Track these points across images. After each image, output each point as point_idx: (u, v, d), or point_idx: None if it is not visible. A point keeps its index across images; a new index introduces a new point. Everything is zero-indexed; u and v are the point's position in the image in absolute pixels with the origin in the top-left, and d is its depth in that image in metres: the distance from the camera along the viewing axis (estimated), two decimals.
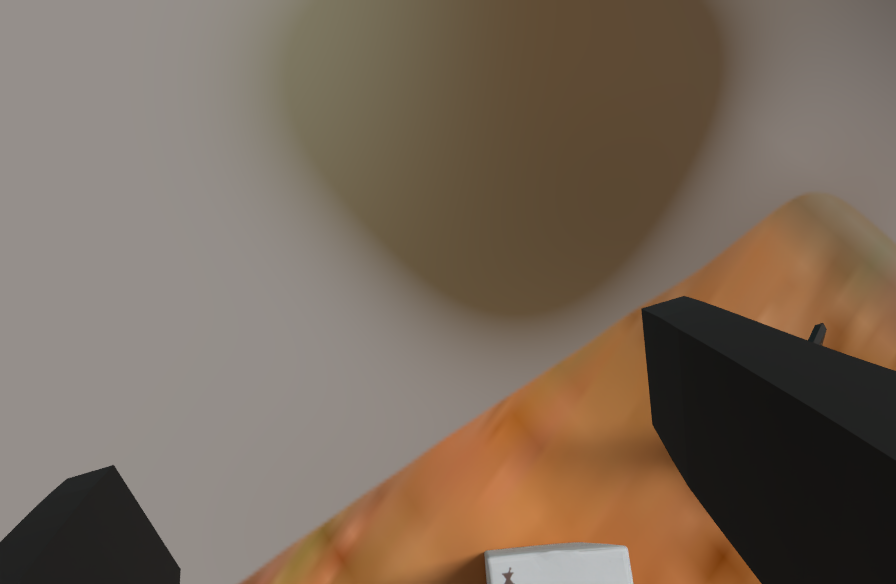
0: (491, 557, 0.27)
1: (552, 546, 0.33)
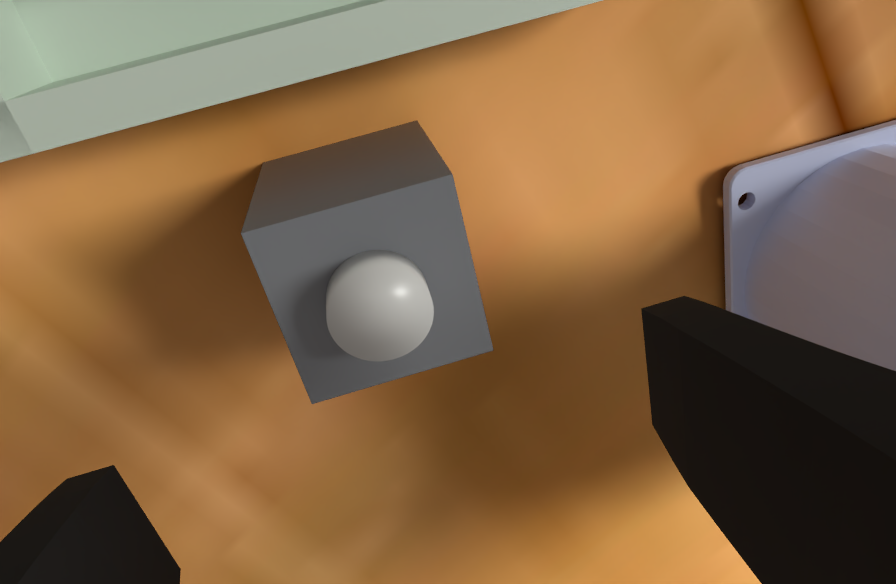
0: None
1: None
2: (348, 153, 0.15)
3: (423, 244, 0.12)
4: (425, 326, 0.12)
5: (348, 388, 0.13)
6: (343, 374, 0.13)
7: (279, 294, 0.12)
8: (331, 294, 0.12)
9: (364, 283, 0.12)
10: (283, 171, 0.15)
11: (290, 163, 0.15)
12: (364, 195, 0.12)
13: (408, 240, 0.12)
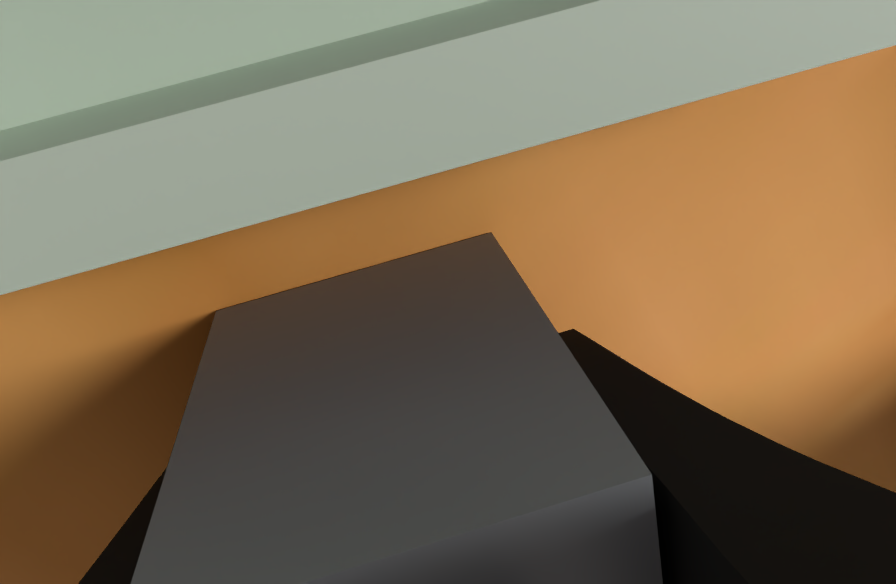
0: None
1: None
2: (373, 316, 0.08)
3: None
4: None
5: None
6: None
7: None
8: None
9: None
10: (248, 351, 0.08)
11: (263, 326, 0.08)
12: (429, 522, 0.05)
13: None
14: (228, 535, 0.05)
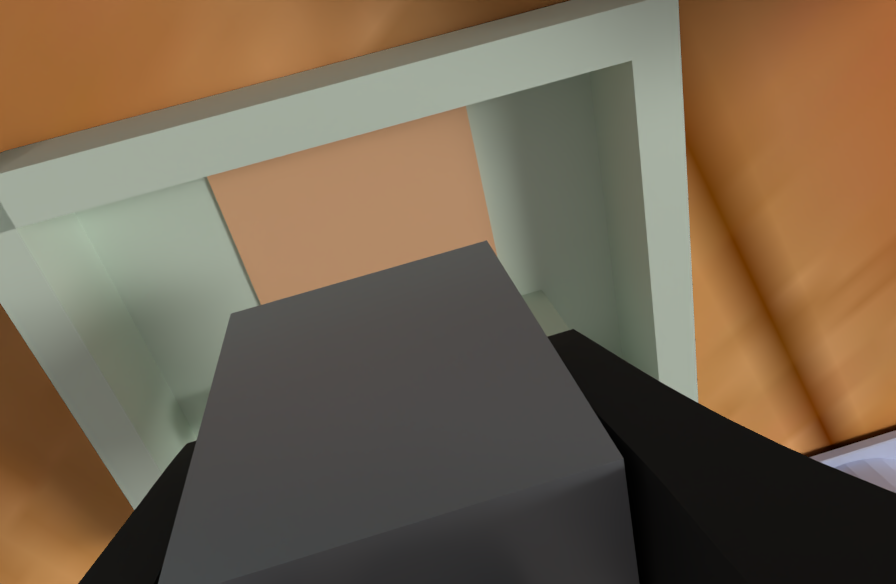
0: None
1: None
2: (377, 318, 0.08)
3: (545, 581, 0.06)
4: None
5: None
6: None
7: None
8: None
9: None
10: (262, 351, 0.08)
11: (275, 327, 0.09)
12: (429, 500, 0.05)
13: (516, 578, 0.06)
14: (251, 513, 0.06)
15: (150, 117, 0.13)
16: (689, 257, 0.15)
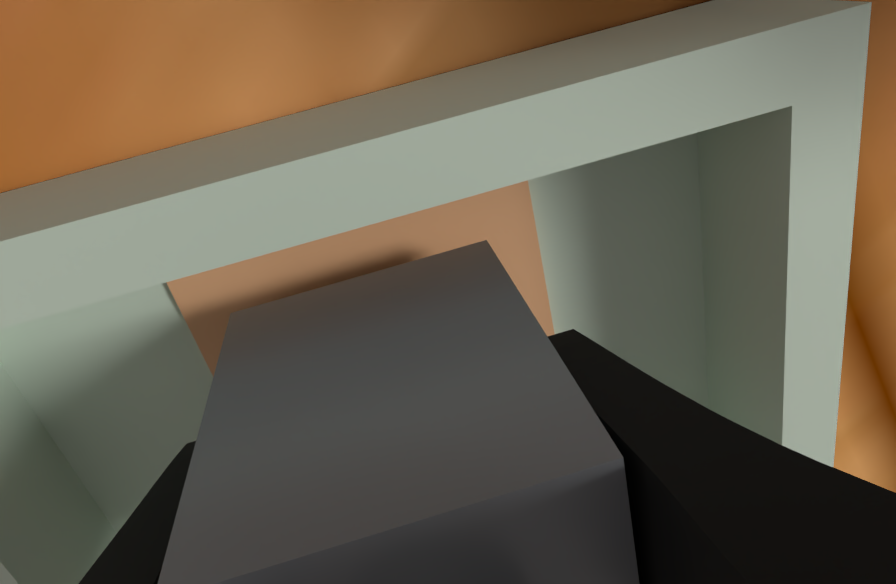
0: None
1: None
2: (377, 318, 0.08)
3: (545, 581, 0.06)
4: None
5: None
6: None
7: None
8: None
9: None
10: (261, 350, 0.08)
11: (274, 326, 0.09)
12: (427, 499, 0.05)
13: (516, 577, 0.06)
14: (250, 512, 0.06)
15: (69, 185, 0.09)
16: (839, 373, 0.10)
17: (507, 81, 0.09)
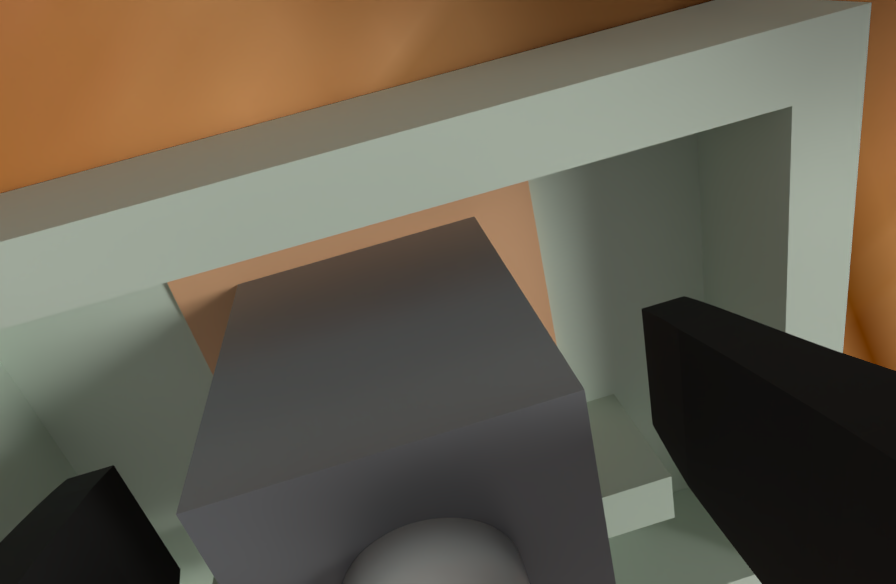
0: None
1: None
2: (372, 285, 0.09)
3: (519, 503, 0.07)
4: None
5: None
6: None
7: None
8: None
9: None
10: (267, 315, 0.09)
11: (279, 295, 0.10)
12: (415, 427, 0.06)
13: (493, 500, 0.07)
14: (259, 443, 0.07)
15: (70, 185, 0.09)
16: None
17: (507, 81, 0.09)
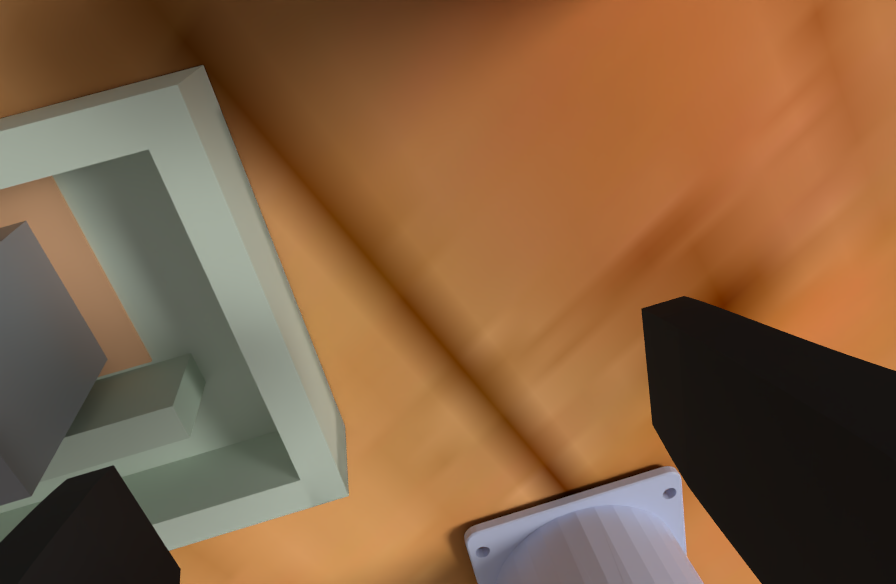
0: None
1: None
2: None
3: None
4: None
5: None
6: None
7: None
8: None
9: None
10: None
11: None
12: None
13: None
14: None
15: None
16: (278, 331, 0.15)
17: None
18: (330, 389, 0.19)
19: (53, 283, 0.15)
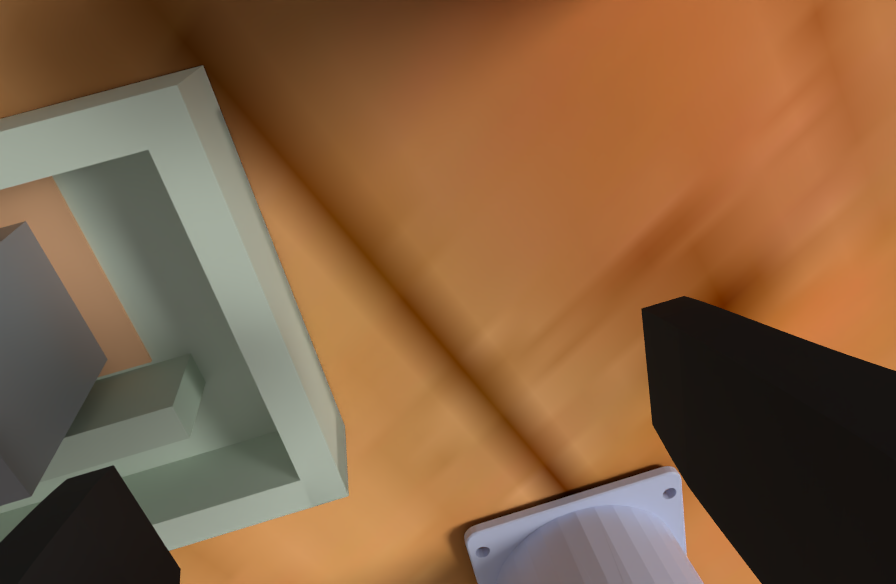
0: None
1: None
2: None
3: None
4: None
5: None
6: None
7: None
8: None
9: None
10: None
11: None
12: None
13: None
14: None
15: None
16: (278, 331, 0.15)
17: None
18: None
19: (54, 283, 0.15)
